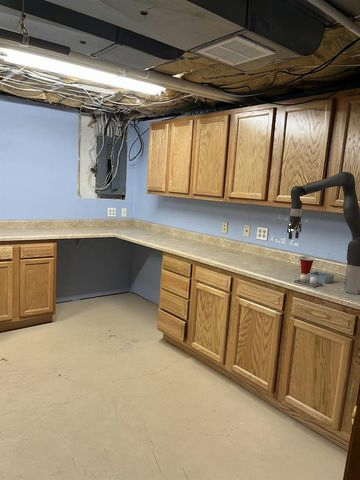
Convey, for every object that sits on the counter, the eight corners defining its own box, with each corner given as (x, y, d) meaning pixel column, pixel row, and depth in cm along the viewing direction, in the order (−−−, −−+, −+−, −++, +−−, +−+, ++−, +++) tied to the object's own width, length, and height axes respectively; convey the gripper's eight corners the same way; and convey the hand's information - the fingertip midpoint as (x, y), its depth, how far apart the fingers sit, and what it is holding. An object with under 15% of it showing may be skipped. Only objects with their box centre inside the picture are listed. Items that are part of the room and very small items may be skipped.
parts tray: (322, 285, 238) (322, 283, 238) (313, 288, 230) (313, 285, 230) (302, 280, 248) (302, 278, 248) (293, 282, 240) (293, 280, 240)
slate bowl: (333, 281, 250) (333, 275, 250) (324, 284, 242) (325, 277, 241) (315, 277, 259) (316, 271, 259) (307, 279, 251) (307, 273, 250)
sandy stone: (307, 282, 241) (308, 275, 241) (304, 283, 239) (305, 276, 238) (301, 281, 244) (302, 273, 244) (298, 282, 242) (299, 274, 241)
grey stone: (317, 285, 236) (318, 277, 236) (314, 286, 234) (315, 278, 233) (311, 283, 239) (312, 276, 239) (308, 284, 237) (309, 277, 236)
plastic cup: (295, 273, 269) (297, 257, 267) (299, 270, 278) (301, 255, 276) (310, 275, 263) (312, 259, 261) (314, 273, 272) (316, 257, 270)
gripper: (295, 216, 243) (292, 240, 245) (305, 215, 252) (303, 238, 255) (285, 215, 248) (283, 238, 250) (296, 214, 258) (294, 237, 260)
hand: (293, 238), depth 252 cm, fingers open, 8 cm apart
